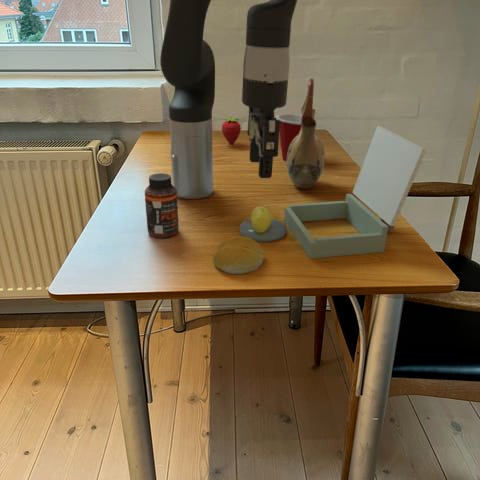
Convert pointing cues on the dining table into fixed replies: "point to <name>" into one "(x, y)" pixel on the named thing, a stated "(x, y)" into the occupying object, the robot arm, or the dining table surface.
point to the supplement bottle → (161, 206)
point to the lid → (388, 173)
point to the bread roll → (238, 255)
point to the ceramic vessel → (306, 148)
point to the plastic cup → (288, 130)
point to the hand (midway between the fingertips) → (259, 169)
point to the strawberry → (231, 130)
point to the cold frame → (365, 242)
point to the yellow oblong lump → (261, 219)
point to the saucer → (271, 234)
